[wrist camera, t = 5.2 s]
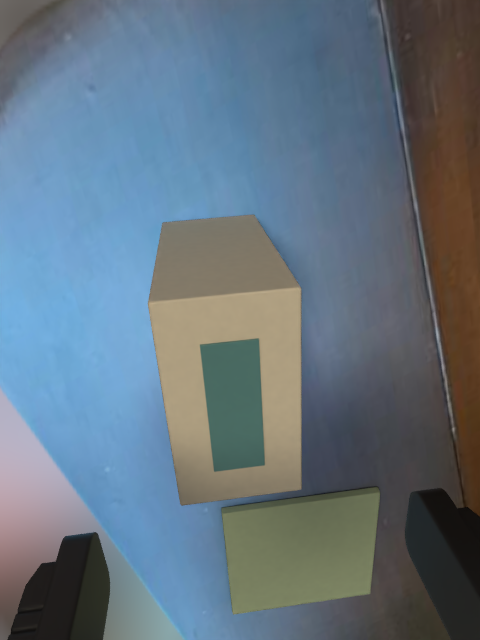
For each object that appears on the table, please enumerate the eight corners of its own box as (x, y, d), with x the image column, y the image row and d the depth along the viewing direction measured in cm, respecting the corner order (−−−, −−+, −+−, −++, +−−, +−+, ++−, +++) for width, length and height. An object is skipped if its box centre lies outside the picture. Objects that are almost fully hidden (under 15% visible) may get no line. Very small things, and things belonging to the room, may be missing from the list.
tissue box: (181, 365, 28) (180, 508, 18) (162, 222, 24) (147, 303, 14) (261, 357, 29) (302, 492, 19) (254, 214, 25) (302, 288, 15)
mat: (232, 608, 39) (232, 614, 38) (221, 507, 34) (221, 513, 33) (367, 587, 40) (370, 594, 39) (377, 486, 35) (380, 492, 34)
